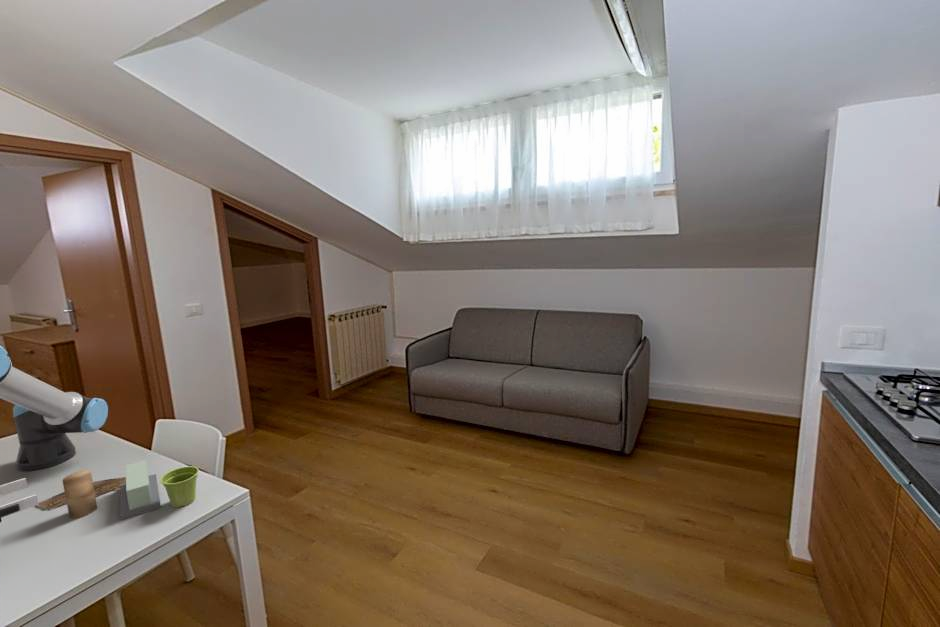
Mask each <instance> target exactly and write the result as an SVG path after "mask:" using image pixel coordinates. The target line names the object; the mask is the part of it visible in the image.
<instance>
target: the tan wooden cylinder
mask: <svg viewBox="0 0 940 627" xmlns="http://www.w3.org/2000/svg"><path fill="white" fill-rule="evenodd" d="M93 482H94V481H93V476H92V472H91V471H90V470H81V471H77V472H74V473H71V474H68V475H67V476H65V477H64V478H63V479H62V485H63V492H65V497H66V502H67V503H66V505H67V511H68V516H69V518H70V519H79V518H84V517H86V516H88V514H89V515H91V514H92V513H94V512H95V511H96V510H97V509H98V504H97V498H96V497H95V492H94V487H93ZM93 511H94V512H93ZM90 513H91V514H90Z"/></svg>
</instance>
